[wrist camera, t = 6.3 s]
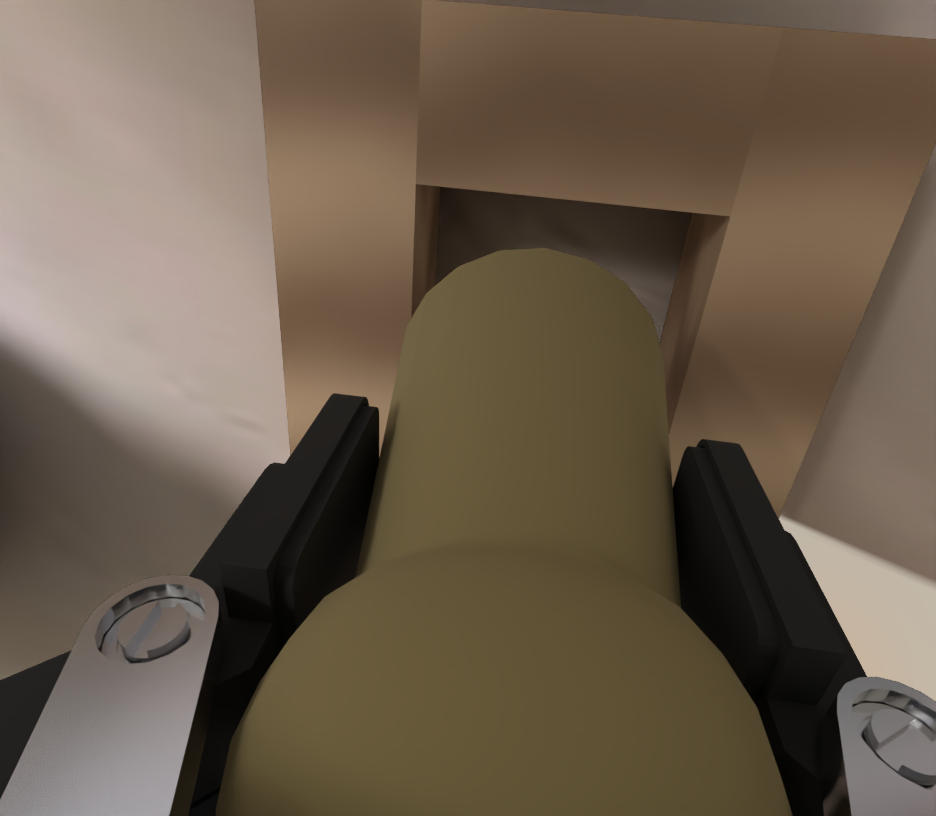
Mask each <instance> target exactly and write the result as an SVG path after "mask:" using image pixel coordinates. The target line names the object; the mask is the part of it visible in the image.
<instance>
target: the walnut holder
mask: <svg viewBox="0 0 936 816" xmlns="http://www.w3.org/2000/svg"><path fill="white" fill-rule="evenodd" d="M254 2H255V14H256V27H257V39H258V52H259V65H260V77H261V90H262V103H263V115H264V128H265V140H266V153H267V166H268V178H269V191H270V203H271V216H272V229H273V241H274V254H275V266H276V279H277V292H278V304H279V317H280V329H281V342H282V355H283V367H284V380H285V392H286V405H287V418H288V430H289V443H290V455H291V454H292V453H293V451H294V450H295V448H296V447H297V445H298V444H299V442H300V441H301V439H302V438H303V436H304V435H305V433H306V432H307V430H308V429H309V427H310V426H311V424H312V423H313V421H314V420H315V418H316V417H317V415H318V414H319V412H320V411H321V409H322V408H323V406H324V405H325V403H326V402H327V400H328V399H329V397H330V396H331V395H332V394H333V393H337V394H345V395H353V396H361V397H367V399H368V403H369V406H373V407H378V409H379V458H380V453H381V448H382V443H383V438H384V433H385V429H386V424H387V419H388V414H389V409H390V404H391V399H392V394H393V390H394V385H395V380H396V375H397V370H398V365H399V360H400V355H401V350H402V346H403V341H404V336H405V331H406V327H407V325H408V323H409V322H410V320H411V318H412V316H413V315H414V313H415V311H416V310H417V308H418V306H419V305H420V303H421V301H422V300H423V298H424V296H425V295H426V293H427V292H428V291H430V290H431V289H432V288H433V287H434V286H436V268H437V249H438V230H439V211H440V191H441V187H449V188H459V189H469V190H478V191H488V192H498V193H507V194H517V195H527V196H536V197H546V198H556V199H565V200H575V201H585V202H594V203H604V204H614V205H623V206H633V207H643V208H652V209H662V210H672V211H682V212H691V213H692V216H691V220H690V224H689V228H688V232H687V236H686V240H685V244H684V248H683V252H682V256H681V260H680V264H679V268H678V272H677V276H676V280H675V284H674V288H673V292H672V296H671V300H670V304H669V308H668V312H667V316H666V320H665V324H664V328H663V332H662V336H661V340H660V346H661V350H662V353H663V361H664V375H665V389H666V403H667V417H668V431H669V445H670V459H671V473H672V487H673V485H674V482H675V479H676V476H677V472H678V469H679V466H680V463H681V459H682V456H683V453H684V451H685V449H686V447H688V446H692V447H696V446H697V444H698V443H699V441H700V440H702V439H707V440H715V441H723V442H731V443H737V444H740V445H741V447H742V448H743V450H744V452H745V454H746V456H747V458H748V460H749V462H750V464H751V466H752V468H753V470H754V472H755V474H756V476H757V478H758V480H759V482H760V484H761V486H762V488H763V489H764V491H765V493H766V495H767V497H768V499H769V501H770V503H771V505H772V507H773V509H774V511H775V513H776V515H777V517H778V519H779V516H780V514H781V512H782V509H783V507H784V504H785V502H786V500H787V497H788V495H789V493H790V490H791V488H792V485H793V483H794V481H795V478H796V476H797V473H798V471H799V469H800V466H801V464H802V461H803V459H804V457H805V454H806V452H807V450H808V447H809V445H810V442H811V440H812V438H813V435H814V433H815V430H816V428H817V426H818V423H819V421H820V418H821V416H822V414H823V411H824V409H825V407H826V404H827V402H828V399H829V397H830V395H831V392H832V390H833V387H834V385H835V383H836V380H837V378H838V375H839V373H840V371H841V368H842V366H843V364H844V361H845V359H846V356H847V354H848V352H849V349H850V347H851V344H852V342H853V340H854V337H855V335H856V332H857V330H858V328H859V325H860V323H861V321H862V318H863V316H864V313H865V311H866V309H867V306H868V304H869V301H870V299H871V297H872V294H873V292H874V289H875V287H876V285H877V282H878V280H879V278H880V275H881V273H882V270H883V268H884V266H885V263H886V261H887V258H888V256H889V254H890V251H891V249H892V246H893V244H894V242H895V239H896V237H897V235H898V232H899V230H900V227H901V225H902V223H903V220H904V218H905V215H906V213H907V211H908V208H909V206H910V204H911V201H912V199H913V196H914V194H915V192H916V189H917V187H918V184H919V182H920V180H921V177H922V175H923V172H924V170H925V168H926V165H927V163H928V161H929V158H930V156H931V153H932V151H933V149H934V146H935V144H936V39H925V38H912V37H899V36H886V35H874V34H861V33H848V32H835V31H823V30H810V29H797V28H784V27H772V26H759V25H746V24H733V23H721V22H708V21H695V20H682V19H670V18H657V17H644V16H631V15H619V14H606V13H593V12H580V11H568V10H555V9H542V8H529V7H517V6H504V5H491V4H478V3H466V2H453V1H440V0H254Z"/></svg>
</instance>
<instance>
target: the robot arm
mask: <svg viewBox="0 0 936 816" xmlns="http://www.w3.org/2000/svg"><path fill="white" fill-rule="evenodd" d="M378 463H379V409H378V407H373V406H369V403H368V399H367V397H361V396H353V395H345V394H337V393H333V394H332V395H331V396H330V397H329V399H328V400H327V402H326V403H325V405H324V406H323V408H322V409H321V411H320V412H319V414H318V415H317V417H316V418H315V420H314V421H313V423H312V424H311V426H310V427H309V429H308V430H307V432H306V433H305V435H304V436H303V438H302V439H301V441H300V442H299V444H298V445H297V447H296V448H295V450H294V451H293V453H292V454H291V456H290V457H289V459H288V460H287V462H286V463H285V464H281V463H272V464H270V465H269V466H268V467H267V468H266V469H265V470H264V471H263V473H262V474H261V476H260V477H259V478H258V480H257V481H256V483H255V484H254V486H253V487H252V488H251V490H250V491H249V493H248V494H247V495H246V497H245V498H244V500H243V501H242V502H241V504H240V505H239V507H238V508H237V509H236V511H235V512H234V514H233V515H232V517H231V518H230V519H229V521H228V522H227V524H226V525H225V526H224V528H223V529H222V531H221V532H220V533H219V535H218V536H217V538H216V539H215V540H214V542H213V543H212V545H211V546H210V548H209V549H208V550H207V552H206V553H205V555H204V556H203V557H202V559H201V560H200V562H199V563H198V564H197V566H196V567H195V569H194V570H193V571H192V573H191V574H190V576H187V575H163V576H157V577H151V578H147V579H144V580H141V581H139V582H136V583H133V584H130V585H128V586H126V587H124V588H123V589H121V590H119V591H118V592H116V593H114V594H112V595H111V596H109V597H108V598H107V599H106V600H105V601H104V602H103V603H101V604H100V605H99V606H98V607H97V608H96V609H95V610H94V611H93V612H92V614H91V615H90V617H89V618H88V620H87V621H86V623H85V624H84V626H83V627H82V630H81V632H80V634H79V636H78V638H77V640H76V642H75V644H74V646H73V648H72V650H71V651H69V652H67V653H64V654H62V655H60V656H57V657H55V658H52V659H50V660H48V661H45V662H43V663H41V664H38V665H36V666H33V667H31V668H29V669H26V670H24V671H22V672H19V673H17V674H15V675H12V676H10V677H7V678H5V679H3V680H0V816H216V806H217V801H218V797H219V792H220V788H221V783H222V779H223V774H224V769H225V765H226V760H227V756H228V751H229V747H230V742H231V739H232V737H233V735H234V733H235V731H236V729H237V727H238V724H239V722H240V720H241V718H242V716H243V714H244V712H245V710H246V708H247V706H248V704H249V702H250V700H251V698H252V696H253V694H254V692H255V690H256V688H257V686H258V684H259V682H260V680H261V679H262V678H263V676H264V675H265V673H266V672H267V670H268V669H269V667H270V666H271V665H272V663H273V662H274V660H275V659H276V657H277V656H278V655H279V653H280V652H281V650H282V649H283V647H284V646H285V644H286V643H287V642H288V640H289V639H290V637H291V636H292V635H293V634H294V633H295V631H296V630H297V629H298V628H299V627H300V625H301V624H302V623H303V622H304V621H305V619H306V618H307V617H308V616H309V615H310V614H311V612H312V611H313V610H314V609H315V608H316V606H317V605H318V604H319V603H320V602H321V600H322V599H323V598H324V597H325V596H327V595H328V594H330V593H332V592H333V591H335V590H336V589H338V588H340V587H341V586H343V585H345V584H346V583H348V582H349V581H351V580H353V579H354V578H355V575H356V570H357V565H358V560H359V555H360V551H361V546H362V541H363V536H364V531H365V526H366V521H367V516H368V512H369V507H370V502H371V497H372V492H373V487H374V482H375V477H376V472H377V468H378ZM673 501H674V515H675V529H676V543H677V557H678V571H679V585H680V599H681V609H682V610H683V611H684V612H685V613H686V614H687V615H688V617H689V618H690V619H691V620H692V621H693V622H694V623H695V624H696V625H697V626H698V627H699V629H700V630H701V631H702V632H703V633H704V634H705V635H706V636H707V637H708V638H709V639H710V641H711V642H712V643H713V644H714V645H715V646H716V647H717V648H718V649H719V650H720V651H721V653H722V654H723V655H724V657H725V658H726V660H727V661H728V663H729V664H730V666H731V668H732V669H733V671H734V672H735V674H736V675H737V677H738V678H739V680H740V682H741V683H742V685H743V686H744V688H745V689H746V691H747V693H748V694H749V696H750V697H751V699H752V700H753V702H754V703H755V705H756V707H757V709H758V712H759V715H760V717H761V720H762V723H763V726H764V729H765V732H766V735H767V738H768V741H769V744H770V746H771V749H772V752H773V755H774V758H775V761H776V764H777V767H778V770H779V773H780V775H781V779H782V782H783V785H784V789H785V792H786V795H787V799H788V802H789V805H790V808H791V812H792V815H793V816H936V701H934V700H933V699H931V698H929V697H928V696H926V695H925V694H923V693H922V692H920V691H918V690H915V689H913V688H911V687H908V686H906V685H904V684H902V683H899V682H896V681H892V680H888V679H884V678H879V677H867V676H866V674H865V672H864V670H863V669H862V666H861V664H860V662H859V660H858V659H857V657H856V655H855V653H854V651H853V649H852V647H851V645H850V643H849V641H848V640H847V637H846V636H845V634H844V632H843V630H842V628H841V626H840V624H839V622H838V620H837V618H836V617H835V615H834V613H833V611H832V609H831V607H830V605H829V603H828V601H827V599H826V597H825V596H824V594H823V592H822V590H821V588H820V586H819V584H818V582H817V580H816V578H815V577H814V574H813V572H812V571H811V569H810V567H809V565H808V563H807V561H806V559H805V557H804V555H803V553H802V551H801V550H800V548H799V546H798V544H797V542H796V540H795V539H794V538H793V536H792V535H791V534H790V533H788V532H786V531H784V529H783V527H782V525H781V523H780V521H779V519H778V517H777V515H776V513H775V511H774V509H773V507H772V505H771V503H770V501H769V499H768V497H767V495H766V493H765V491H764V489H763V488H762V486H761V484H760V482H759V480H758V478H757V476H756V474H755V472H754V470H753V468H752V466H751V464H750V462H749V460H748V458H747V456H746V454H745V452H744V450H743V448H742V447H741V445H740V444H737V443H731V442H723V441H715V440H707V439H702V440H700V441H699V443H698V444H697V446H696V447H692V446H688V447H686V449H685V451H684V453H683V456H682V459H681V463H680V466H679V469H678V472H677V476H676V479H675V482H674V485H673Z"/></svg>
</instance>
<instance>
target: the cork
mask: <svg viewBox="0 0 936 816" xmlns="http://www.w3.org/2000/svg"><path fill="white" fill-rule="evenodd" d="M216 816H793V815H792V812H791V808H790V805H789V802H788V799H787V795H786V792H785V789H784V785H783V782H782V779H781V775H780V773H779V770H778V767H777V764H776V761H775V758H774V755H773V752H772V749H771V746H770V744H769V741H768V738H767V735H766V732H765V729H764V726H763V723H762V720H761V717H760V715H759V712H758V709H757V707H756V705H755V703H754V702H753V700H752V699H751V697H750V696H749V694H748V693H747V691H746V689H745V688H744V686H743V685H742V683H741V682H740V680H739V678H738V677H737V675H736V674H735V672H734V671H733V669H732V668H731V666H730V664H729V663H728V661H727V660H726V658H725V657H724V655H723V654H722V653H721V651H720V650H719V649H718V648H717V647H716V646H715V645H714V644H713V643H712V642H711V641H710V639H709V638H708V637H707V636H706V635H705V634H704V633H703V632H702V631H701V630H700V629H699V627H698V626H697V625H696V624H695V623H694V622H693V621H692V620H691V619H690V618H689V617H688V615H687V614H686V613H685V612H684V611H683V610H682V609H681V599H680V585H679V571H678V557H677V543H676V529H675V515H674V501H673V487H672V473H671V459H670V445H669V431H668V417H667V403H666V389H665V375H664V361H663V353H662V350H661V346H660V343H659V340H658V336H657V333H656V330H655V326H654V323H653V319H652V317H651V315H650V314H649V313H648V311H647V310H646V309H645V307H644V306H643V305H642V304H641V302H640V301H639V300H638V298H637V297H636V296H635V294H634V293H633V292H632V290H631V289H630V288H629V286H628V285H627V284H626V283H625V282H623V281H622V280H620V279H619V278H617V277H616V276H614V275H613V274H611V273H610V272H608V271H606V270H605V269H603V268H602V267H600V266H599V265H597V264H596V263H594V262H593V261H591V260H590V259H586V258H582V257H579V256H575V255H571V254H567V253H563V252H560V251H556V250H552V249H548V248H531V249H514V250H499V251H497V252H494V253H491V254H489V255H486V256H484V257H481V258H479V259H476V260H473V261H471V262H468V263H466V264H463V265H461V266H458V267H457V268H456V269H455V270H453V271H452V272H451V273H450V274H449V275H447V276H446V277H445V278H444V279H443V280H441V281H440V282H439V283H438V284H437V285H436V286H434V287H433V288H432V289H431V290H430V291H428V292H427V293H426V295H425V296H424V298H423V300H422V301H421V303H420V305H419V306H418V308H417V310H416V311H415V313H414V315H413V316H412V318H411V320H410V322H409V323H408V325H407V327H406V331H405V336H404V341H403V346H402V350H401V355H400V360H399V365H398V370H397V375H396V380H395V385H394V390H393V394H392V399H391V404H390V409H389V414H388V419H387V424H386V429H385V433H384V438H383V443H382V448H381V453H380V458H379V463H378V468H377V472H376V477H375V482H374V487H373V492H372V497H371V502H370V507H369V512H368V516H367V521H366V526H365V531H364V536H363V541H362V546H361V551H360V555H359V560H358V565H357V570H356V575H355V578H354V579H353V580H351V581H349V582H348V583H346V584H345V585H343V586H341V587H340V588H338V589H336V590H335V591H333V592H332V593H330V594H328V595H327V596H325V597H324V598H323V599H322V600H321V602H320V603H319V604H318V605H317V606H316V608H315V609H314V610H313V611H312V612H311V614H310V615H309V616H308V617H307V618H306V619H305V621H304V622H303V623H302V624H301V625H300V627H299V628H298V629H297V630H296V631H295V633H294V634H293V635H292V636H291V637H290V639H289V640H288V642H287V643H286V644H285V646H284V647H283V649H282V650H281V652H280V653H279V655H278V656H277V657H276V659H275V660H274V662H273V663H272V665H271V666H270V667H269V669H268V670H267V672H266V673H265V675H264V676H263V678H262V679H261V680H260V682H259V684H258V686H257V688H256V690H255V692H254V694H253V696H252V698H251V700H250V702H249V704H248V706H247V708H246V710H245V712H244V714H243V716H242V718H241V720H240V722H239V724H238V727H237V729H236V731H235V733H234V735H233V737H232V739H231V742H230V747H229V751H228V756H227V760H226V765H225V769H224V774H223V779H222V783H221V788H220V792H219V797H218V801H217V806H216Z"/></svg>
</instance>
